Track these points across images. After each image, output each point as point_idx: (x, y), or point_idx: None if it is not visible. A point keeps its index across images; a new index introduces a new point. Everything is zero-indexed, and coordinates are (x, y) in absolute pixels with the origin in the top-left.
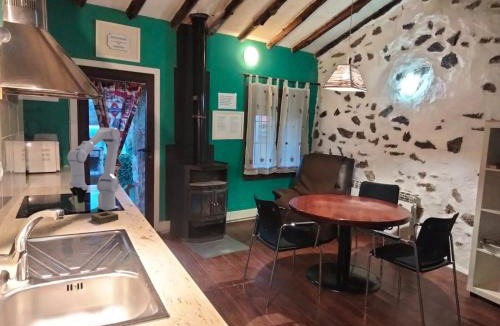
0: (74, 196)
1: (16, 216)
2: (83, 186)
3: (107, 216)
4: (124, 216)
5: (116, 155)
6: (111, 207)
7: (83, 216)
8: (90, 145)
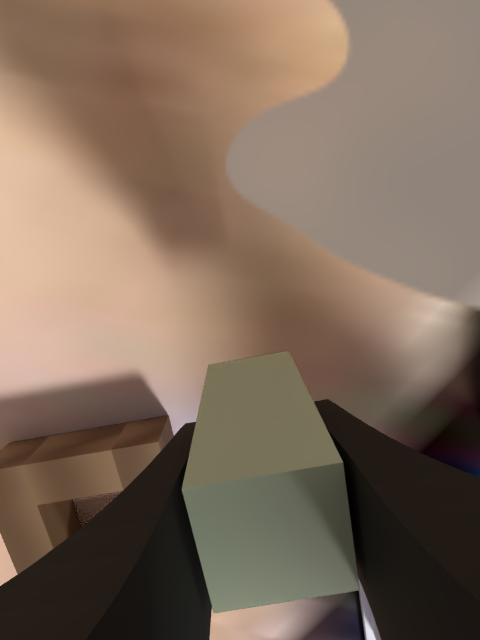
0: (329, 449)
1: None
2: None
3: (13, 534)
4: None
5: None
6: (373, 628)
7: (317, 390)
8: None
